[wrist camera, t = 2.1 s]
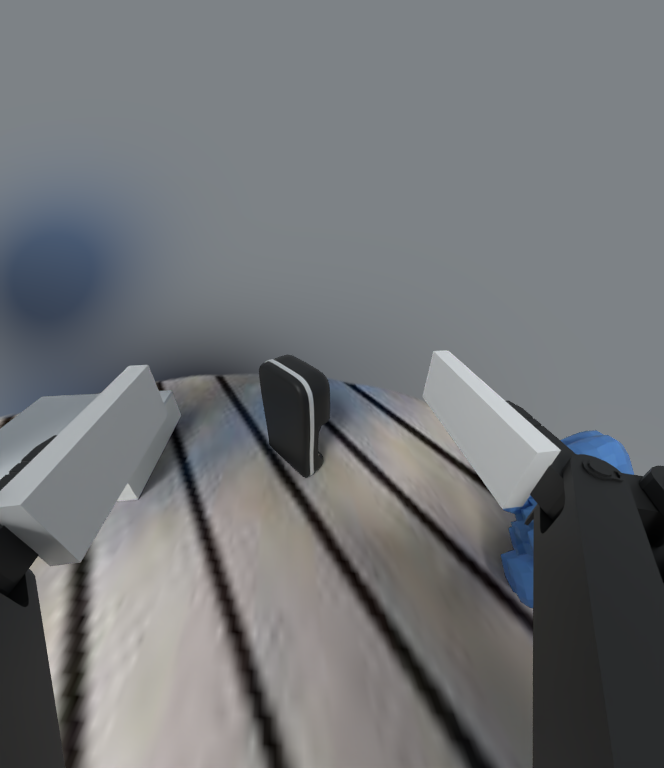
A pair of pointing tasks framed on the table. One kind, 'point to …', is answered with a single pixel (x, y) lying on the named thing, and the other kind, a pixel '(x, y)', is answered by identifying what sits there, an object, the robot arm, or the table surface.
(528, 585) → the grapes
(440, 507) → the table surface
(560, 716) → the robot arm
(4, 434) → the stand
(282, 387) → the battery charger
